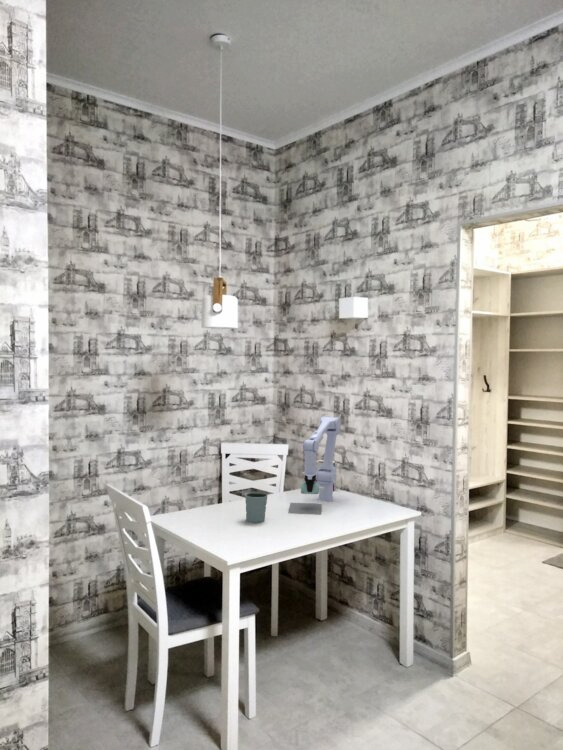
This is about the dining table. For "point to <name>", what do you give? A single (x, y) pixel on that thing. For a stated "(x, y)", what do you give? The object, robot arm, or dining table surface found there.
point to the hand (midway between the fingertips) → (309, 490)
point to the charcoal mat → (305, 508)
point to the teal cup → (255, 507)
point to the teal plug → (314, 491)
